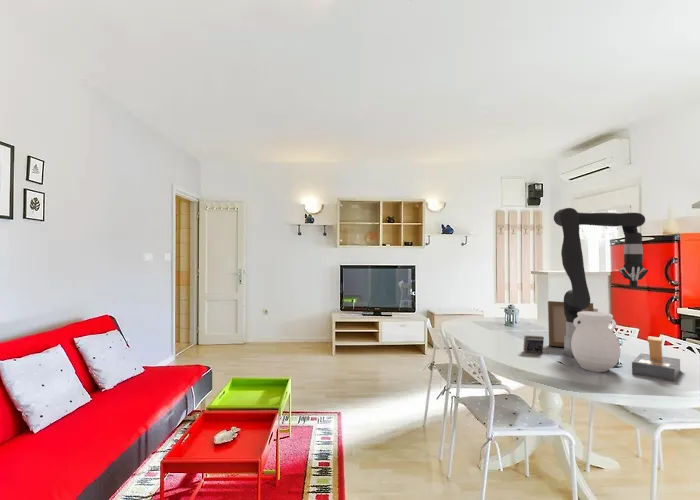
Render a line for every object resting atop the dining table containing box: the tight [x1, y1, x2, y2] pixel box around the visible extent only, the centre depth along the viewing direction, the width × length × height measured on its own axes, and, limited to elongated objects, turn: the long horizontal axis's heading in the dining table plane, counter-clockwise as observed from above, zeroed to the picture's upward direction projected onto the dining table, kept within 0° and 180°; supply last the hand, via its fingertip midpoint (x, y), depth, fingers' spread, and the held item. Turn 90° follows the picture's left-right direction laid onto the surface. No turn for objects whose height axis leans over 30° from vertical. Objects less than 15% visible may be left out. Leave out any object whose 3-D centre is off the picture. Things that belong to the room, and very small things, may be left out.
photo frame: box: [547, 300, 594, 348], centre depth 214 cm, size 15×22×25 cm
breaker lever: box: [647, 335, 663, 362], centre depth 165 cm, size 5×3×11 cm, turn 44°
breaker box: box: [631, 352, 681, 382], centre depth 167 cm, size 14×22×5 cm, turn 134°
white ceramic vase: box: [571, 311, 621, 373], centre depth 170 cm, size 19×18×25 cm
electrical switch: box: [523, 334, 545, 355], centre depth 198 cm, size 9×5×9 cm, turn 78°
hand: (633, 288), depth 189 cm, fingers closed
